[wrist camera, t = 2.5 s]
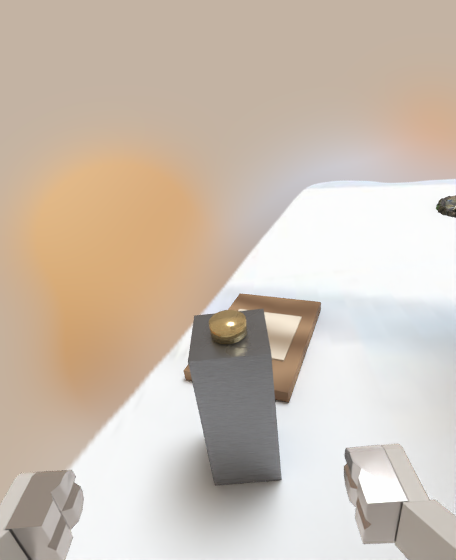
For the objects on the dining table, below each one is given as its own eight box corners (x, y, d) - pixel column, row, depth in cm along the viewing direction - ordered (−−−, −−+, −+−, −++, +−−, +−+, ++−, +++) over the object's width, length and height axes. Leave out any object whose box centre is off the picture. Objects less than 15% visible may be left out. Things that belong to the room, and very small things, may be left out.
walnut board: (240, 300, 50) (239, 292, 50) (320, 310, 46) (320, 300, 45) (185, 379, 37) (183, 369, 37) (288, 402, 33) (288, 391, 32)
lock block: (273, 424, 31) (262, 296, 25) (281, 479, 27) (270, 340, 21) (216, 429, 31) (192, 303, 25) (214, 485, 27) (185, 348, 21)
